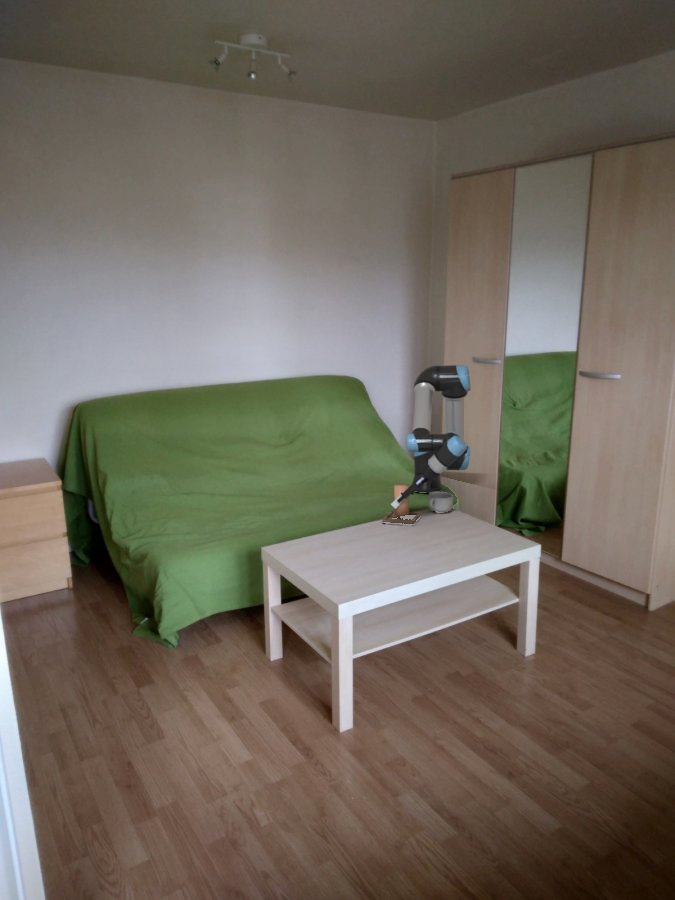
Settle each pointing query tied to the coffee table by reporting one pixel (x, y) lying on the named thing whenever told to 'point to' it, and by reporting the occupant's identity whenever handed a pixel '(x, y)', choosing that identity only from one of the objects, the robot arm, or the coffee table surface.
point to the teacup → (440, 501)
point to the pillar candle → (404, 506)
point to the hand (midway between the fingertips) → (395, 504)
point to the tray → (392, 515)
